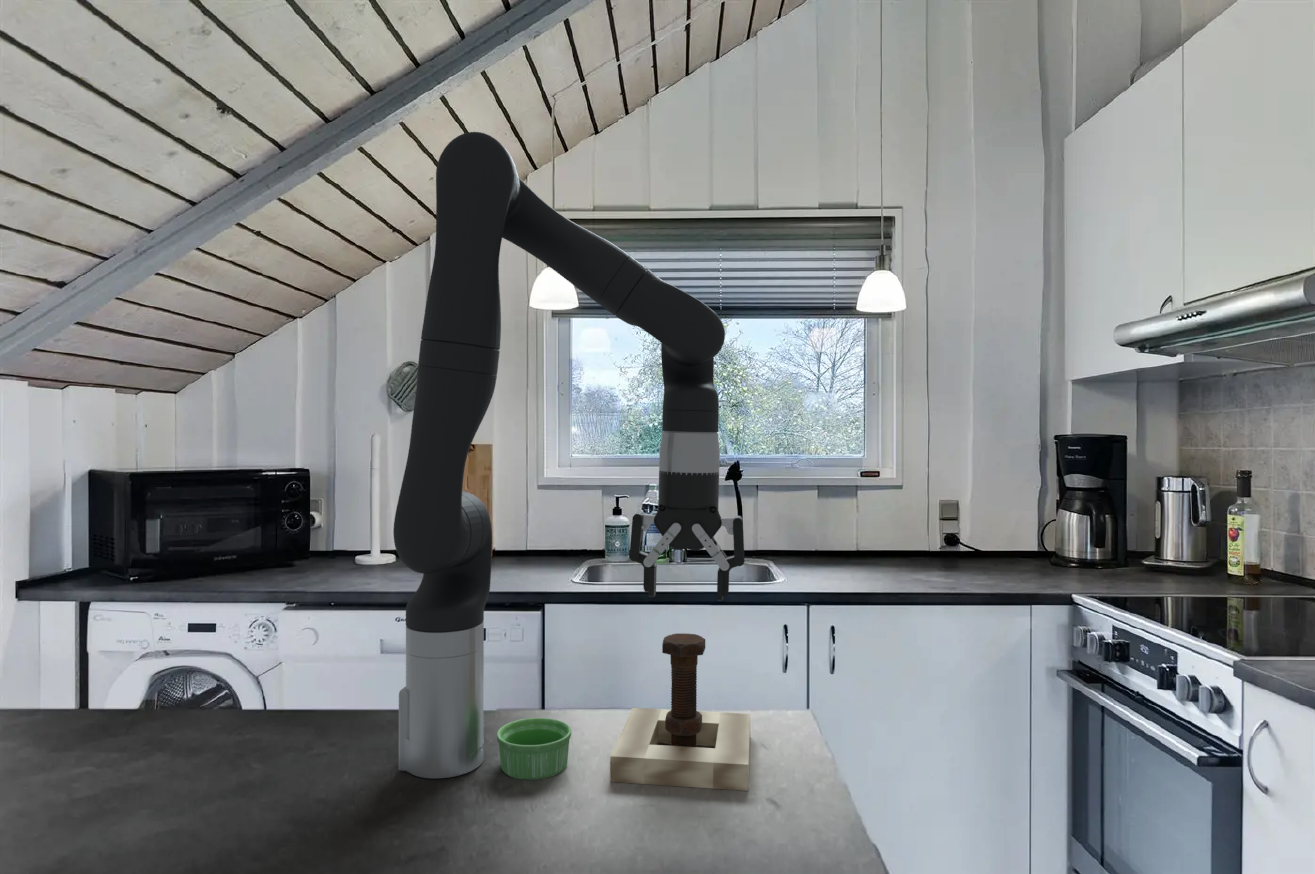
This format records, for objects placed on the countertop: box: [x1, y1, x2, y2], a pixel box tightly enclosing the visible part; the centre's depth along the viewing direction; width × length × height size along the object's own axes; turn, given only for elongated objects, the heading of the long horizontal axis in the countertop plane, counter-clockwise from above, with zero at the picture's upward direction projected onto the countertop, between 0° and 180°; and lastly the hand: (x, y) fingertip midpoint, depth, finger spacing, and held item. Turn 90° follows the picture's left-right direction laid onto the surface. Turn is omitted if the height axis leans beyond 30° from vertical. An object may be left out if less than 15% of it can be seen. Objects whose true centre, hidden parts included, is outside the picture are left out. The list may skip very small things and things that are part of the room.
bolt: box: [661, 633, 706, 747], centre depth 99 cm, size 6×5×15 cm
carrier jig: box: [609, 707, 751, 792], centre depth 99 cm, size 16×16×3 cm
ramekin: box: [496, 717, 572, 781], centre depth 97 cm, size 9×9×4 cm
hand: (686, 597), depth 99 cm, fingers open, 8 cm apart
